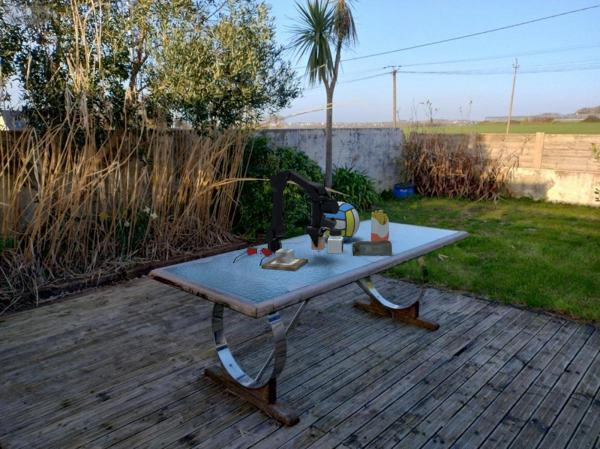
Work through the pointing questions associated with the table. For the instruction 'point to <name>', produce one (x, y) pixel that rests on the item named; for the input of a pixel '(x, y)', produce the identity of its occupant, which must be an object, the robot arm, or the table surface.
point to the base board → (284, 267)
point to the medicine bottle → (335, 241)
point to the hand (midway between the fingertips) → (318, 246)
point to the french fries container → (379, 226)
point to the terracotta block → (319, 244)
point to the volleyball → (345, 220)
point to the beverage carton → (371, 248)
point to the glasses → (253, 251)
